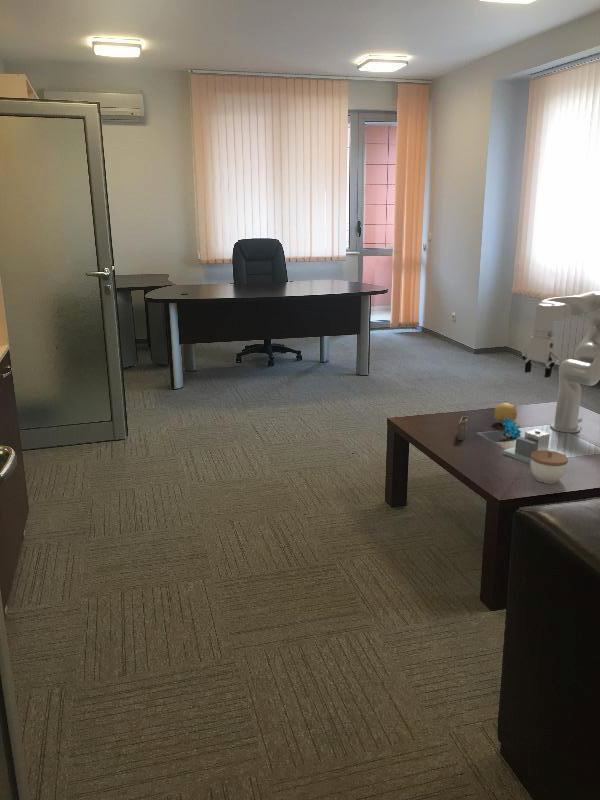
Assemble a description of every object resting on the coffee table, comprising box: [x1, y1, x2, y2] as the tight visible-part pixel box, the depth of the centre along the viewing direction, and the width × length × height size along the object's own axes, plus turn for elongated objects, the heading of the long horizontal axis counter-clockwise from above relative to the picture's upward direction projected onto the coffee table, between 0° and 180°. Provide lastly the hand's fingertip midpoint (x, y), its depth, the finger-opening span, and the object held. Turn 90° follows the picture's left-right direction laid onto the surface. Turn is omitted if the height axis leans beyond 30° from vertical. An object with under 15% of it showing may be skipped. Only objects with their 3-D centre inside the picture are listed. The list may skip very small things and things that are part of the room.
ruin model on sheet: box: [457, 415, 469, 441], centre depth 279 cm, size 11×3×10 cm, turn 159°
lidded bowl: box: [529, 450, 569, 484], centre depth 233 cm, size 13×13×11 cm
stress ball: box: [493, 402, 518, 425], centre depth 296 cm, size 10×10×10 cm
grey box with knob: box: [524, 428, 551, 451], centre depth 257 cm, size 7×6×8 cm
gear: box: [502, 418, 522, 439], centre depth 281 cm, size 11×6×10 cm
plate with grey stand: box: [502, 436, 567, 465], centre depth 257 cm, size 18×16×8 cm
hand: (537, 374), depth 270 cm, fingers open, 9 cm apart
